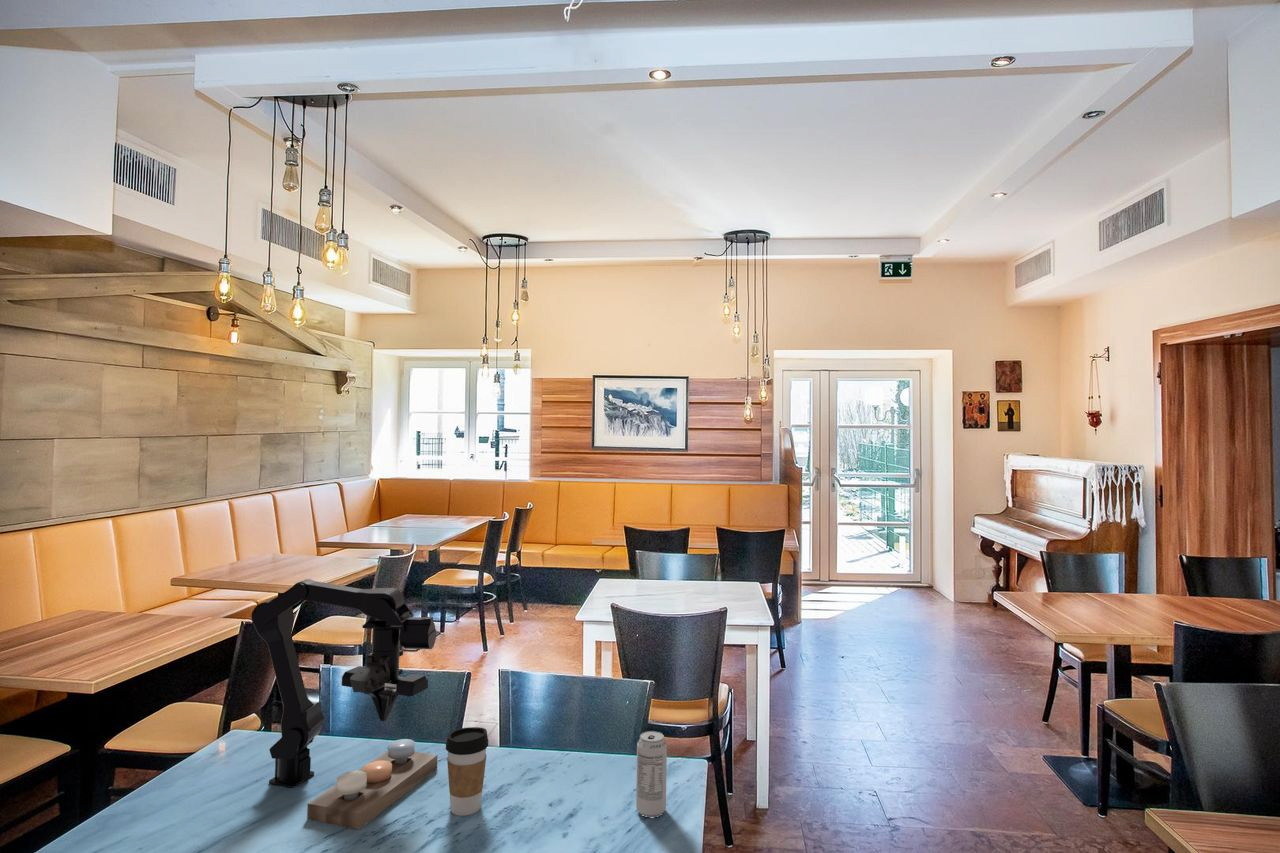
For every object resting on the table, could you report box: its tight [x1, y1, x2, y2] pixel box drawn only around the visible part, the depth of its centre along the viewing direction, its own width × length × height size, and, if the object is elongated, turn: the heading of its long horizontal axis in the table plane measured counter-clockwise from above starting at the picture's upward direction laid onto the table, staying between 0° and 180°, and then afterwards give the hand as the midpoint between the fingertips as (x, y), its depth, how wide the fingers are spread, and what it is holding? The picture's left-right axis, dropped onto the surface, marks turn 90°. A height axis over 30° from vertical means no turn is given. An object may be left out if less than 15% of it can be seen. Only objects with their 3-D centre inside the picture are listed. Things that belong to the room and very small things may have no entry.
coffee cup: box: [445, 726, 489, 817], centre depth 137 cm, size 8×8×15 cm
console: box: [306, 750, 438, 830], centre depth 142 cm, size 12×26×3 cm, turn 164°
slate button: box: [387, 738, 416, 765], centre depth 150 cm, size 6×6×5 cm
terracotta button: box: [363, 761, 392, 783], centre depth 142 cm, size 6×6×5 cm
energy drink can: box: [635, 730, 668, 817], centre depth 136 cm, size 6×6×15 cm
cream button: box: [335, 770, 367, 801], centre depth 135 cm, size 6×6×5 cm
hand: (383, 720), depth 148 cm, fingers closed
